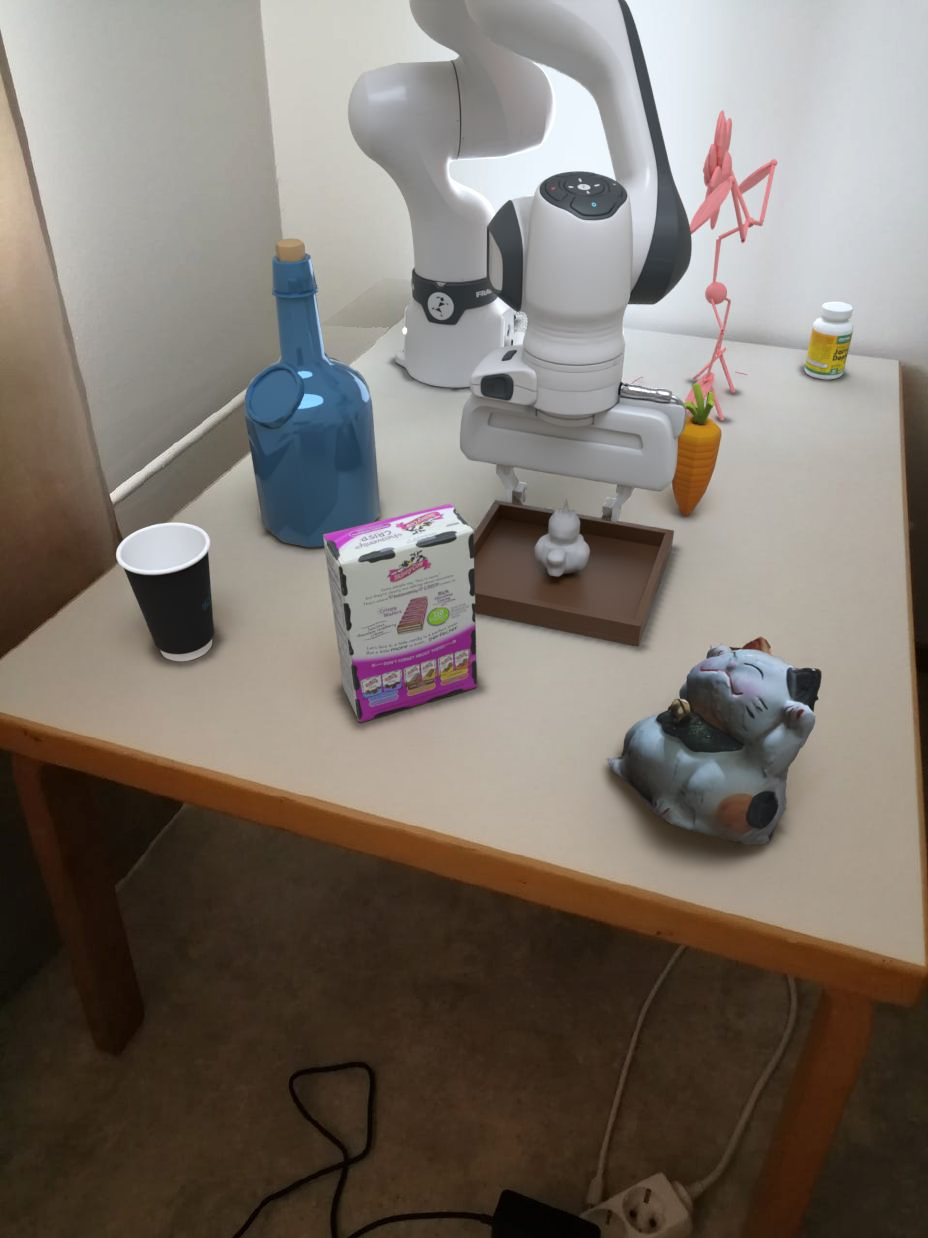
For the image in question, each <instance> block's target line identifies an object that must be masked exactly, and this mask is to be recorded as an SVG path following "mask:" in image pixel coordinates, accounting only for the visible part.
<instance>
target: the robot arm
mask: <svg viewBox="0 0 928 1238" xmlns="http://www.w3.org/2000/svg"><path fill="white" fill-rule="evenodd" d="M408 2H409V8H410V13H411V15H412V17H413V19H414V21H415V23H416V24H417V26H418V27H419V28H420V29H421V31H423V33H424V34H426V35H427V36H428V37H429V39H431V40H433V41H434V42H435V43H437V44H439V45H441V46H443V47H445V48H447V49H449V50H451V51H452V52H453V53H456V54H457V55H458V56H457V57H456V58H455V59H450V60H442V61H441V60H440V61H415V62H397V63H393V64H388V65H385V66H381V67H377V68H374V69H371V70H367V71H364V72H362V73H361V74H360V76H359V77H358V78H357V80H356V81H355V83H354V85H353V86H352V88H351V91H350V94H349V99H348V105H347V120H348V125H349V129H350V133H351V135H352V137H353V139H354V141H355V143H356V145H357V146H358V147H359V149H360V150H361V152H363V154H364V155H365V156H367V158H369V159H370V160H372V161H373V162H375V163H376V164H377V165H378V166H379V167H381V168H382V169H383V170H384V171H385V172H386V173H387V174H388V175H389V177H390V178H391V179H392V180H393V182H394V183H395V185H396V186H397V189H398V190H399V191H400V194H401V195H402V197H403V200H404V201H405V204H406V207H407V211H408V216H409V219H410V220H409V221H410V227H411V236H412V246H413V260H414V261H413V262H414V267H413V269H412V270H411V280H410V287H411V294H412V298H413V299H412V301H411V302H410V303H408V304H407V306H406V307H405V308H404V318H403V319H404V320H403V321H404V322H403V328H402V333H403V349H402V350H401V351H398V352H397V353H396V355H395V363H396V364H398V365H399V366H401V367H403V368H405V369H406V371H407V373H408V374H409V376H410V377H412V379H414V380H415V381H418V382H420V383H423V384H426V385H430V386H435V387H441V388H458V389H459V388H469V391H470V393H471V394H470V395H469V397H468V398H467V400H466V401H465V402H464V404H463V407H462V413H461V420H460V430H459V448H460V451H461V452H462V454H463V455H464V456H465V458H466V459H467V460H469V461H474V462H480V463H485V464H486V463H487V464H492V465H496V467H495V468H496V469H495V470H496V475H497V476H498V479H499V480H500V482H501V483H502V485H503V486H504V488H505V489H506V502H507V503H508V504H514V505H520V506H522V505H524V503H525V502H526V499H527V492H526V491H527V489H528V484H527V482H522V481H520V480H519V478H518V476H517V474H516V472H515V470H514V468H516V469H522V470H528V471H534V472H539V473H545V474H551V475H559V476H563V477H569V478H576V479H581V480H586V481H587V480H588V481H593V482H598V483H606V484H611V485H616V487H615V488H616V489H615V492H616V493H617V495H616V496H615V497H610V496H606V498H605V500H604V503H603V505H602V509H601V513H602V515H601V518H602V520H604V521H610V522H615V523H617V521H619V518H620V515H621V510H622V506H623V505H624V504H625V503H626V502H627V501H628V499H629V498H630V497H631V496H632V494H633V491H634V489H642V490H647V491H652V492H662V491H664V490H665V489H667V488H668V487H669V486H670V485H672V480H673V478H674V475H675V471H676V466H677V455H678V437H679V436H680V435H681V434H682V432H683V430H684V428H685V422H686V417H687V416H688V415H687V410H686V406H685V404H684V403H685V402H684V401H683V400H682V399H681V398H680V397H678V396H677V395H675V394H673V392H672V390H670V389H667V388H661V387H658V388H653V387H647V386H643V385H640V384H634V383H632V384H631V383H625V382H622V379H623V371H624V361H625V352H626V351H625V350H626V337H625V333H624V316H625V313H626V310H627V307H628V305H641V306H642V305H643V306H645V305H646V306H647V305H651V306H653V305H656V304H657V303H659V302H661V301H662V300H663V299H664V298H665V297H666V296H667V295H669V294H670V293H671V291H673V290H674V288H675V287H676V286H677V285H678V284H679V282H680V281H681V280H682V279H683V277H684V276H685V274H686V273H687V271H688V270H689V267H690V264H691V259H692V249H693V248H692V247H693V246H692V245H693V244H692V243H693V242H692V241H693V240H692V239H693V238H692V234H691V231H690V222H689V218H688V214H687V210H686V208H685V205H684V203H683V200H682V198H681V196H680V192H679V190H678V187H677V185H676V182H675V179H674V176H673V173H672V169H671V165H670V161H669V158H668V157H669V156H668V153H667V152H668V150H667V149H666V144H665V143H666V142H665V140H664V139H665V138H664V134H663V131H662V126H661V122H660V117H659V114H658V109H657V105H656V100H655V96H654V90H653V87H652V83H651V78H650V74H649V70H648V66H647V62H646V58H645V54H644V49H643V46H642V42H641V38H640V36H639V32H638V28H637V24H636V22H635V19H634V15H633V14H632V11H631V9H630V6H629V4H628V2H627V1H626V0H408ZM541 66H543V67H546V68H549V69H551V70H554V71H556V72H557V73H560V74H562V75H563V76H566V77H567V78H569V79H571V80H573V81H574V82H576V83H577V84H578V85H580V86H581V87H582V88H583V89H584V90H585V91H587V93H588V94H589V95H590V96H591V98H592V99H593V101H594V102H595V105H596V107H597V109H598V112H599V116H600V119H601V124H602V129H603V133H604V137H605V141H606V145H607V149H608V154H609V157H610V162H611V166H612V171H613V174H614V175H613V176H614V178H615V179H613V178H612V177H609V176H606V175H603V174H600V173H595V172H591V171H582V170H581V171H580V170H578V171H577V170H575V171H565V172H560V173H557V174H553V175H551V176H549V177H547V178H545V179H544V180H542V181H541V182H540V183H539V184H538V185H537V187H536V188H535V190H534V194H530V195H524V196H520V197H516V198H513V199H508V200H507V201H506V202H505V203H503V204H502V205H501V207H500V208H499V209H498V210H497V211H496V213H495V210H494V208H493V205H492V203H490V201H489V200H488V199H487V198H486V197H485V196H483V195H482V194H481V193H479V192H477V191H476V190H474V189H472V188H470V187H467V186H466V185H463V184H461V183H459V182H457V181H455V180H454V179H452V178H451V175H450V163H452V162H456V161H466V160H467V161H468V160H485V159H488V160H489V159H502V158H503V159H505V158H508V157H512V156H515V155H520V154H523V153H527V152H531V151H533V150H536V149H539V148H540V147H541V146H543V144H544V143H545V141H546V140H547V139H548V136H549V134H550V132H551V130H552V128H553V126H554V121H555V117H556V108H557V107H556V96H555V91H554V87H553V85H552V82H551V80H550V78H549V76H548V74H547V73H546V72H545V71H544V69H543V68H542V67H541ZM515 312H516V313H524V315H525V316H526V320H527V321H526V329H525V332H523V331H521V330H519V329H515V321H516V319H517V315H516V314H515Z"/></svg>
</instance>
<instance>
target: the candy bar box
mask: <svg viewBox="0 0 928 1238" xmlns="http://www.w3.org/2000/svg"><path fill="white" fill-rule="evenodd" d="M473 534H474V529H473V528H472V527H471V525H469V524H468V522H467V521H466V520H464V518H463V516H461V515H460V513H458V512H457V508H456V507H454V506H453V504H451V503H447V504H444V505H439V506H435V507H432V508H427V509H423V510H418V511H415V512H410V513H407V514H402V515H398V516H394V517H390V518H386V519H382V520H376V521H375V522H373V523H369V524H365V525H361V526H357V527H353V528H349V529H345V530H340V531H336V532H332V533H328V534H324V535H323V540H324V546H323V548H324V555H325V561H326V569H327V575H328V584H329V591H330V599H331V607H332V614H333V621H334V630H335V636H336V642H337V643H336V644H337V652H338V658H339V665H340V666H339V667H340V673H341V681H342V687H343V691H344V694H345V696H346V698H347V700H348V701H349V703H350V705H351V707H352V710H353V711H354V714H355V716H356V719H357V720H358V722H359V723H364V722H368V721H371V720H374V719H377V718H381V717H384V716H387V715H391V714H394V713H398V712H400V711H403V710H407V709H410V708H414V707H417V706H419V705H423V704H426V703H430V702H433V701H436V700H440V699H442V698H445V697H449V696H452V695H455V694H458V693H461V692H465V691H467V690H468V691H469V690H472V689H475V688H477V687H478V664H477V657H478V655H477V629H476V628H477V625H476V624H477V623H476V613H475V573H474V536H473Z"/></svg>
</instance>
